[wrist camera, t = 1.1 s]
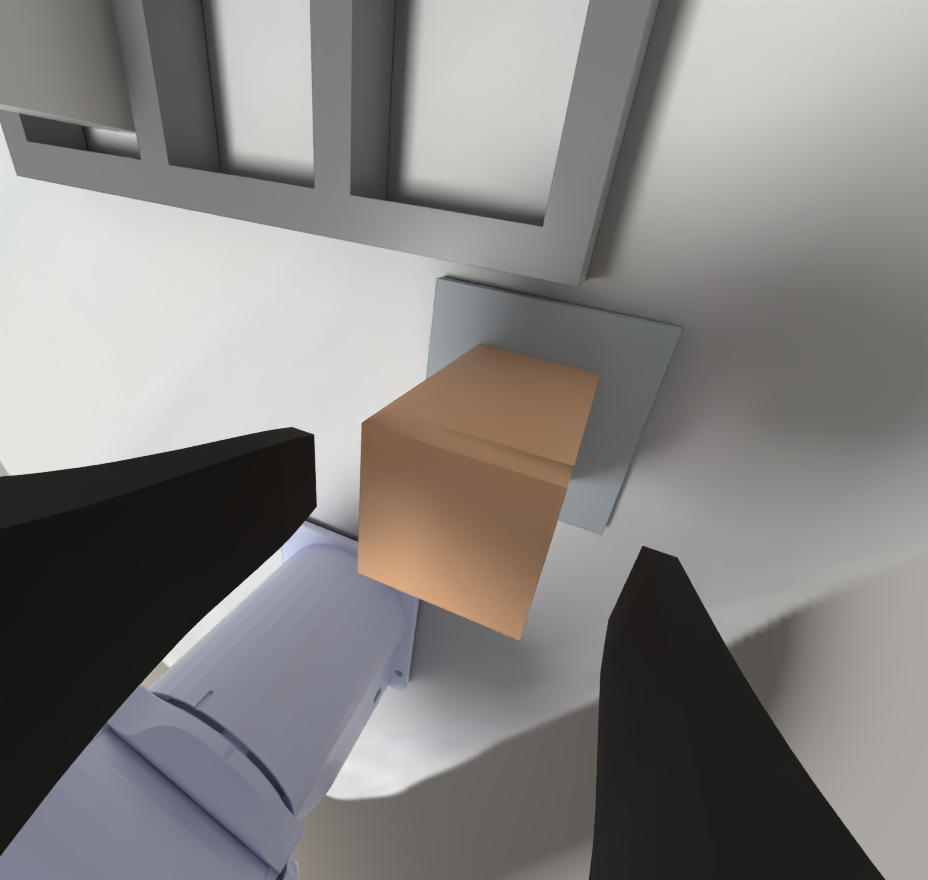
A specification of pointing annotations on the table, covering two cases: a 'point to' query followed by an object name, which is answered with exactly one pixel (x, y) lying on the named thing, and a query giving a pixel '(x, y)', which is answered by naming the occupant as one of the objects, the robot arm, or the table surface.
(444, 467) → the plug
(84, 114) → the twin plug
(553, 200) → the gray slotted rack
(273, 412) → the table surface
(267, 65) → the table surface
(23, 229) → the table surface
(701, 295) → the table surface
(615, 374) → the mat
